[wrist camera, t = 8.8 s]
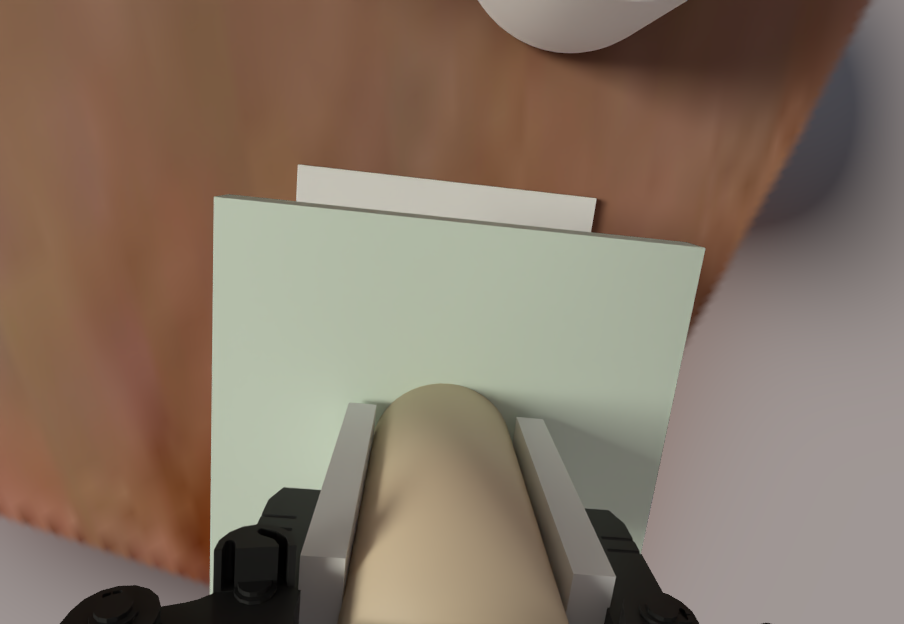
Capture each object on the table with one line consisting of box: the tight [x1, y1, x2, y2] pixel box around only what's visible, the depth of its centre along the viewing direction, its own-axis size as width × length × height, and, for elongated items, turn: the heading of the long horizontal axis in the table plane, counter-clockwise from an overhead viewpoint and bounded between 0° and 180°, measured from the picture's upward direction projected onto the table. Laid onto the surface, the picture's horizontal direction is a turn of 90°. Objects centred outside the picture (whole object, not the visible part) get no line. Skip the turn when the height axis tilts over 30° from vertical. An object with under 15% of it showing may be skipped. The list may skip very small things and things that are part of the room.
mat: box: [296, 165, 596, 232], centre depth 29 cm, size 14×14×1 cm
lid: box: [210, 194, 705, 624], centre depth 14 cm, size 13×13×9 cm
